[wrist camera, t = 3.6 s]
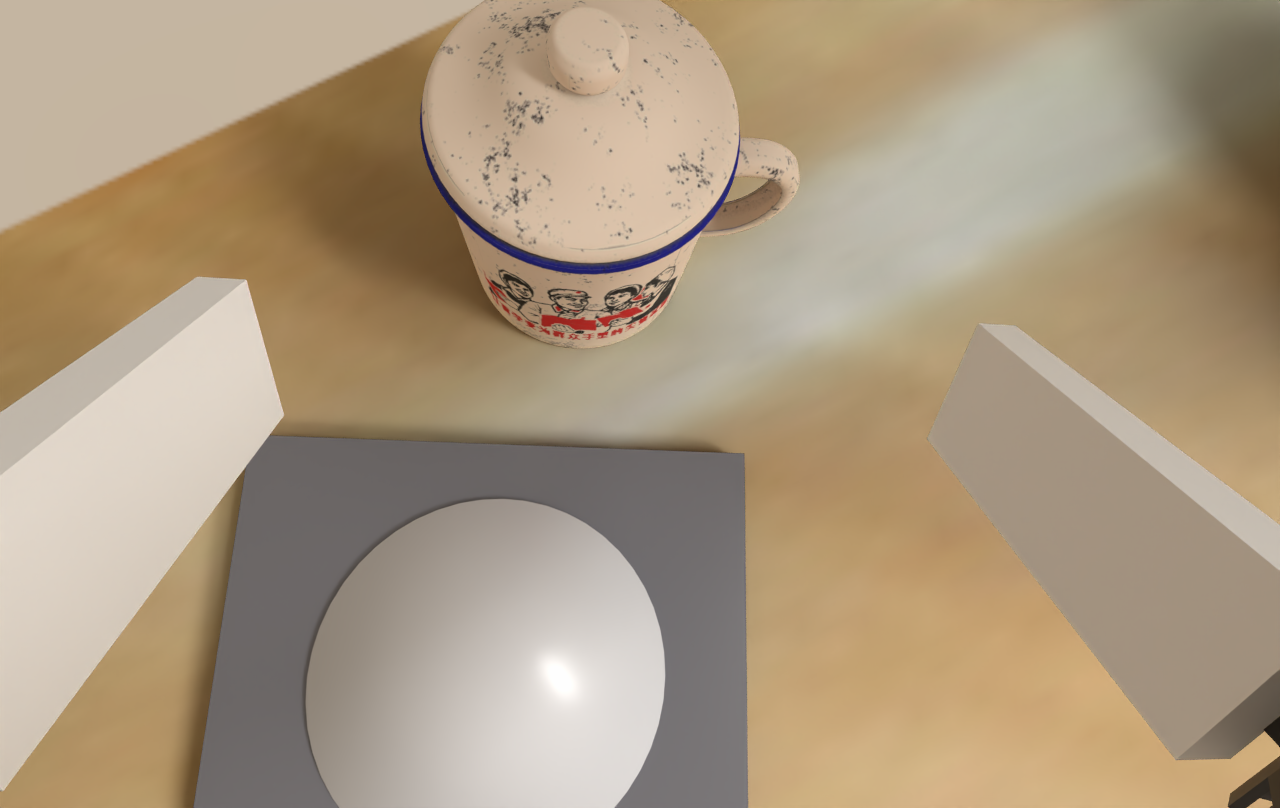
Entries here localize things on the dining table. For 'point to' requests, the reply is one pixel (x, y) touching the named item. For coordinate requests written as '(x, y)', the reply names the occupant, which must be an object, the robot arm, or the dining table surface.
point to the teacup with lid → (589, 159)
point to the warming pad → (481, 629)
